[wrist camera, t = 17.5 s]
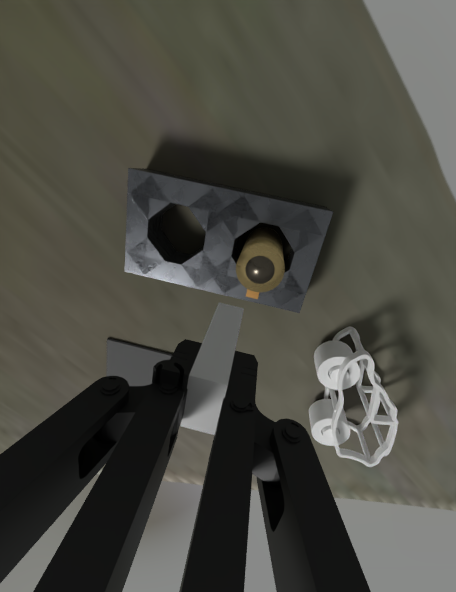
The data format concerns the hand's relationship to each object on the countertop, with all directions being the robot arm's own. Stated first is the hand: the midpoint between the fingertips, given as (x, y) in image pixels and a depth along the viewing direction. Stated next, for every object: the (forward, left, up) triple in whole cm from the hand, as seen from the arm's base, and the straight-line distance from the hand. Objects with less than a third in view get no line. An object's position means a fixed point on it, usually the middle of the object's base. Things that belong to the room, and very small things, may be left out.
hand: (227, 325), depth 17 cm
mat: (-14, -30, -24) cm, 41 cm away
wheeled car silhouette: (+19, -19, -25) cm, 37 cm away
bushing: (+1, -1, -24) cm, 24 cm away
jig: (-4, 0, -24) cm, 25 cm away
